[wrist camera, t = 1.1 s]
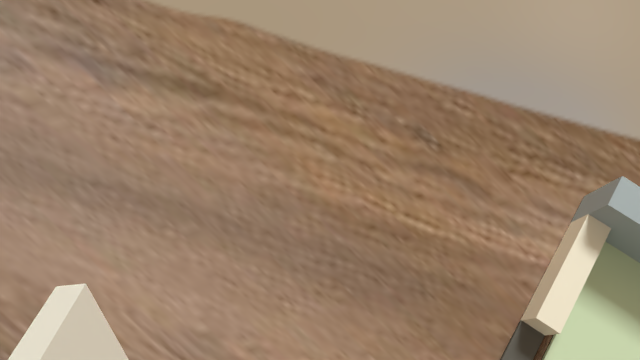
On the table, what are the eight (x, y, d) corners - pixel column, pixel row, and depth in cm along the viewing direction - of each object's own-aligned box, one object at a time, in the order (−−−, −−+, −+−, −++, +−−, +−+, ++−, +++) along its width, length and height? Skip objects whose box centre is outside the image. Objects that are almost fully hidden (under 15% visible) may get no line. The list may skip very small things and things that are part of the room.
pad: (527, 387, 32) (530, 388, 31) (599, 240, 35) (602, 239, 34) (640, 463, 31) (643, 464, 31) (703, 306, 34) (707, 305, 34)
